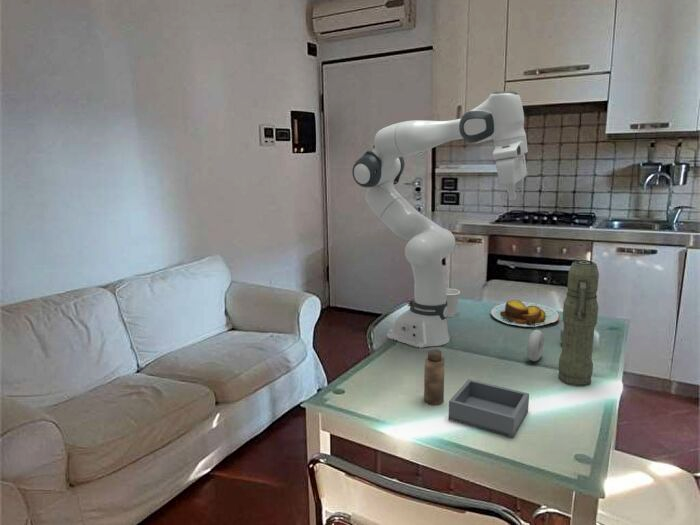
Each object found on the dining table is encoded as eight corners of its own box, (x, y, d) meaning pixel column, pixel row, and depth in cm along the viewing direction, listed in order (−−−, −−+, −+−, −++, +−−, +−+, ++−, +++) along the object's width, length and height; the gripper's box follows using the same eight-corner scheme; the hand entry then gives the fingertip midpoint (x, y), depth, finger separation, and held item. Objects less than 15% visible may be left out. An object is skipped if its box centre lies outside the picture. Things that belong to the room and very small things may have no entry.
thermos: (588, 372, 148) (598, 258, 140) (594, 390, 137) (606, 267, 129) (556, 369, 150) (564, 256, 143) (559, 386, 139) (569, 266, 132)
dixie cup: (440, 310, 207) (441, 287, 204) (461, 312, 203) (461, 289, 201) (436, 317, 199) (436, 293, 197) (457, 319, 196) (457, 295, 194)
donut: (535, 367, 152) (537, 336, 150) (524, 364, 154) (526, 334, 152) (544, 356, 160) (546, 326, 158) (533, 353, 162) (535, 324, 160)
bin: (448, 419, 124) (448, 401, 123) (467, 395, 135) (468, 379, 134) (513, 437, 115) (514, 418, 114) (528, 411, 127) (529, 393, 126)
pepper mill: (420, 402, 133) (421, 353, 130) (428, 394, 137) (429, 346, 134) (439, 407, 130) (440, 357, 127) (446, 398, 134) (447, 350, 131)
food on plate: (572, 321, 191) (573, 305, 190) (527, 335, 179) (528, 318, 178) (520, 304, 213) (521, 290, 211) (477, 315, 201) (477, 300, 199)
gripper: (507, 147, 151) (513, 192, 154) (490, 154, 134) (497, 204, 137) (529, 144, 148) (534, 189, 151) (514, 150, 131) (520, 202, 134)
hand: (516, 197), depth 144 cm, fingers open, 8 cm apart
